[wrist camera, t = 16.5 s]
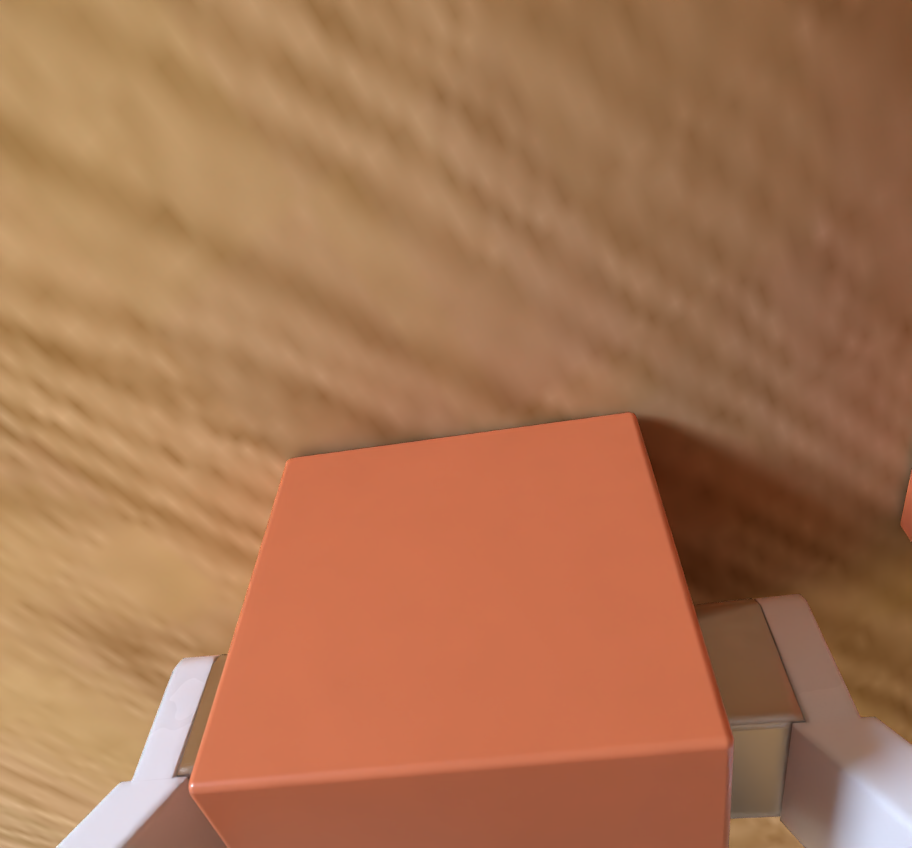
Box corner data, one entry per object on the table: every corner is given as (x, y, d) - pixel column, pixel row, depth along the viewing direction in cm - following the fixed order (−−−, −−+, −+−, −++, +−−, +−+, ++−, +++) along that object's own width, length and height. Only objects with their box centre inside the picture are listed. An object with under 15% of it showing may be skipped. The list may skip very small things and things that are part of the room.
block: (635, 408, 10) (737, 743, 6) (648, 641, 12) (724, 974, 9) (285, 455, 10) (182, 792, 6) (369, 669, 13) (328, 994, 9)
